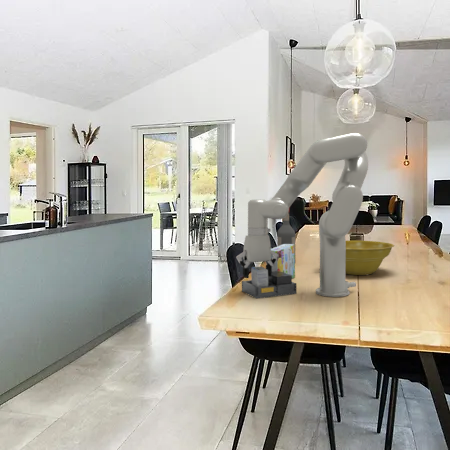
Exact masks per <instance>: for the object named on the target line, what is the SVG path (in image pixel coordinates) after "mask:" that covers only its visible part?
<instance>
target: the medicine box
mask: <svg viewBox="0 0 450 450" xmlns="http://www.w3.org/2000/svg"><path fill="white" fill-rule="evenodd" d="M250 269H251V270H250V271H251V272H250V273H251V274H250V275H251V280H252V285H254V286H256V287H263V286H268V270H267V269H266V267H264V266H252V267H251V268H250Z"/></svg>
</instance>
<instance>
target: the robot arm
mask: <svg viewBox="0 0 450 450" xmlns="http://www.w3.org/2000/svg"><path fill="white" fill-rule="evenodd" d="M367 148H368V140H367V138H366V137H365V136H364V135H363V134H362V133H358V132H353V133H347V134H343V135H338V136H333V137H328V138H322V139H321V138H320V139H318V140H317V141H314V142H313V143H312V144H311V145H310V146H309V147H308V149H307V150H306V151H305V153H304V155H302V157H301V159H299V161H298V163H297V164H296V165H295V166H294V168H293V169H292V170H291V172H290V173H289V175H288V176H287V178H286V179H285V181H284V182H283V184H282V185H281V186H280V188H279V189H278V190H277V192H276V193H275V194H274V195H273V197H272V198H271V200H265V199H249V201H248V203H247V235H245V237H244V242H243V252H241V253H239V254H238V255H237V256H236V257H235V258H236V260H237V261H238V262H237V263H238V264H239V265H241V267H242V277H243V278H245V279H249V274H250V273H249V271H250V270H249V269H250V268H249V266H250V264H252V263H265V269H267V270H268V276H271V273H272V266H273V264H274V262H275V261H276V259H277V257H278V254H277V253H275V252H273V251H271V249H272V247H271V246H272V245H271V239H270V236H269V233H271V228H269V226H268V222H269V221H268V219H272V220H283V218H285V217H286V216H287V214H288V212H289V207H290V208H291V206H292V204H293V203H294V202H295V201H296V200H297V198H298V197H299V196H300V195H301V194H302V193H303V192H304V191H305V190H307V189H308V188H309V187H310V186H311V184H312V183H313V182H314V181H315V179H316V177H317V176H318V175H319V173H320V172H321V171H322V170H323V168H324V167H325V166H326V165H327V163H332V162H339V161H342V160H344V161H343V162H344V166H343V170H342V172H341V175H340V177H339V179H338V181H337V183H336V186H335V187H334V190H333V191H332V194H331V195H332V196H331V200H332V204H331V206H330V208H329V210H326V211H325V212H324V213H323V214H322V215H321V217H320V219H319V222H318V230H319V232H318V233H319V287H318V288H316V289H315V293H316V294H317V295H318V296H323V297H329V298H330V297H331V298H340V297H347V296H349V295H350V288H354V287H355V288H356V286H357V283H356V282H355V281H351V282H349V281H347V280H346V241H347V240H346V236H347V235H348V233H349V232H350V231H351V229H352V227H353V225H354V223H355V221H356V219H357V216H358V213H359V211H360V209H361V207H362V204H363V201H364V199H363V198H364V195H363V191H362V190H361V189H362V187H363V184H364V182H365V179H366V176H367V173H368V170H369V160H368V156H367V153H366V151H367ZM289 213H290V212H289ZM271 255H273V258H272V259H271ZM270 259H271V260H270ZM266 263H267V265H266Z"/></svg>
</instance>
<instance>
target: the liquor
mask: <svg viewBox="0 0 450 450" xmlns="http://www.w3.org/2000/svg"><path fill="white" fill-rule="evenodd" d="M290 208H291V206H290V207H289V212H288V214H287V216H286V217H285V218H283V219H282V220H283V221H282V225H281V226H280V227H279V229H278V230H277V233H276V235H277V243H276V244H277V246H280V245H283V244H294V252H295V253H296V232H295V230H294V229H293V227H292V225H291V223H290V212H291V211H290V210H291V209H290ZM277 246H276V247H277Z"/></svg>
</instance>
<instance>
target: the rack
mask: <svg viewBox="0 0 450 450" xmlns="http://www.w3.org/2000/svg"><path fill="white" fill-rule="evenodd" d="M292 279H293V278H292V275H289V274H286V273H283V272H281V271H272V273H271V276H268V286H263V287H256V286H254V285H252V279H249V280H242V281H241V292H242V293H244V292H245V293H244V294H246V293H247V295H248V294H249V296H250V295H251V297H252V296H253V297H252V298H254V297H255V299H264V297H265V298H273V297H280V296H282V297H283V296H289V295H297V289H298V288H297V283H296V282H294V281H293V280H292Z"/></svg>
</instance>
